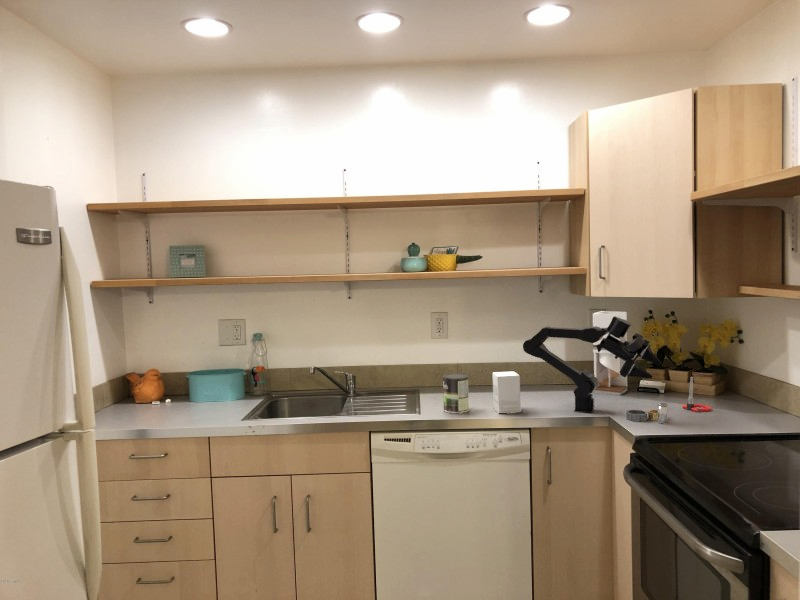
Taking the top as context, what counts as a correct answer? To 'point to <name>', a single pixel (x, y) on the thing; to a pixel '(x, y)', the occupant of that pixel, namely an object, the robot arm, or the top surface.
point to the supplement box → (506, 392)
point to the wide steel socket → (636, 415)
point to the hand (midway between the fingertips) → (656, 370)
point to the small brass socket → (653, 414)
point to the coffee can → (455, 393)
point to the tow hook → (690, 401)
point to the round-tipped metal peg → (662, 412)
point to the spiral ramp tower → (608, 359)
